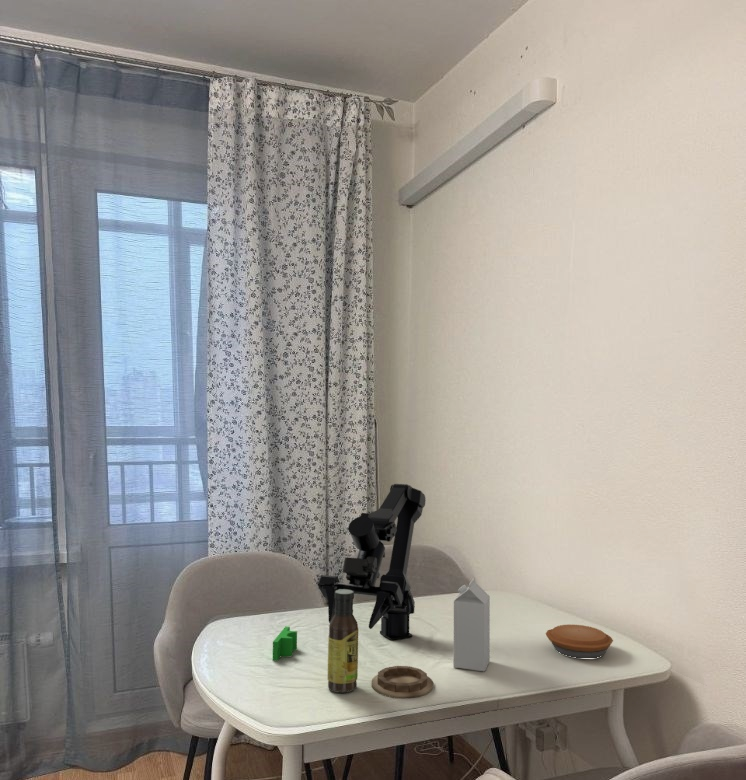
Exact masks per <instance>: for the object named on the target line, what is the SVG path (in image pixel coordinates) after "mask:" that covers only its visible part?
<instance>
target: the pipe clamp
mask: <svg viewBox="0 0 746 780" xmlns="http://www.w3.org/2000/svg"><path fill="white" fill-rule="evenodd" d="M296 649H298V631H297V630H291V627H290V626H285V627H283V628H282V630H281V631H280V633H278V635H277V636H276V637H275V638H274V640H273V641H272V661H273V660H278V661H279V659H280V658H281V657H283V656H292V657H293V651H297V650H296ZM280 656H281V657H280ZM279 657H280V658H279Z"/></svg>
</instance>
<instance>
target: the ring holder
mask: <svg viewBox="0 0 746 780" xmlns="http://www.w3.org/2000/svg"><path fill="white" fill-rule="evenodd" d="M371 687H372V689H373V690H374V691H375V692H376V693H378V694H380V695H382V696H385V695H386V696H385V697H389V696H390V697H389V698H394V697H395V699H412V698H413V699H414V698H419V697H422V696H425V695H428V694H430V692H432V690H433V688H434V681H433V679H432V678H431V677H429V676H428V673H426V672H425V671H424V670H422V669H421V668H419V667H413V666H410V665H393V666H388V667H385V668H382V669H380V670H378V672H377V674H376V675H374V677H373V678H372V679H371Z"/></svg>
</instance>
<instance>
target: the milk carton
mask: <svg viewBox="0 0 746 780" xmlns="http://www.w3.org/2000/svg"><path fill="white" fill-rule="evenodd" d="M457 592H458V593H459V594H458V595H457V596H456V598H455V599H454V600H453V663H452V664H453V668H456V669H463V670H471V671H478V672H479V671H480V672H485V671H486V670H487V667H488V666H489V663H490V661H491V660H490V658H491V657H490V651H491V650H490V647H491V643H490V640H491V639H490V633H491V632H490V630H491V629H490V628H491V627H490V626H491V625H490V624H491V623H490V621H491V620H490V618H491V617H490V616H491V614H490V612H491V610H490V609H491V608H490V607H491V606H490V605H491V601H490V599H491V598H490V597H491V596H490V595H489V593H487V592H486V591H485V590H484V589H483V588H482V587H481V586H480V585H479V584H478V583H477V582H476V577H473V578H472V579H471V581H470V582H469V583H468V586H467V585H466V584H462V585H461V586H460V587H459V588H458V589H457Z"/></svg>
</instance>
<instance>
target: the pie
mask: <svg viewBox="0 0 746 780" xmlns="http://www.w3.org/2000/svg"><path fill="white" fill-rule="evenodd" d="M545 635H546V637H547V638H548V640H549V642H551V644H552V646H553V648H554V650H555V651H556V650H557V651H558V652H560V653H561V654H560V653H559V654H560V655H562V654H564V655H567V656H571V657H576V658H597V657H600V656H602V655H603V654H604V655H605V653H606V651H607V650H608V648H609V647H610V646H611V645H612V643H613V642H614V639H613V638H612V637H611V636H610V635H608V634H607V633H605V632H604V631H603V630H602V629H598V628H596V627H592V626H588V625H582V624H562V625H557V626H554V628H552V629H548V630H546V632H545ZM557 651H556V652H557ZM558 652H557V653H558ZM564 655H563V656H564ZM604 655H603V656H604ZM567 656H566V657H567ZM603 656H602V657H603ZM571 657H570V658H571ZM576 658H575V659H576ZM600 658H601V657H600ZM597 659H598V658H597Z"/></svg>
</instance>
